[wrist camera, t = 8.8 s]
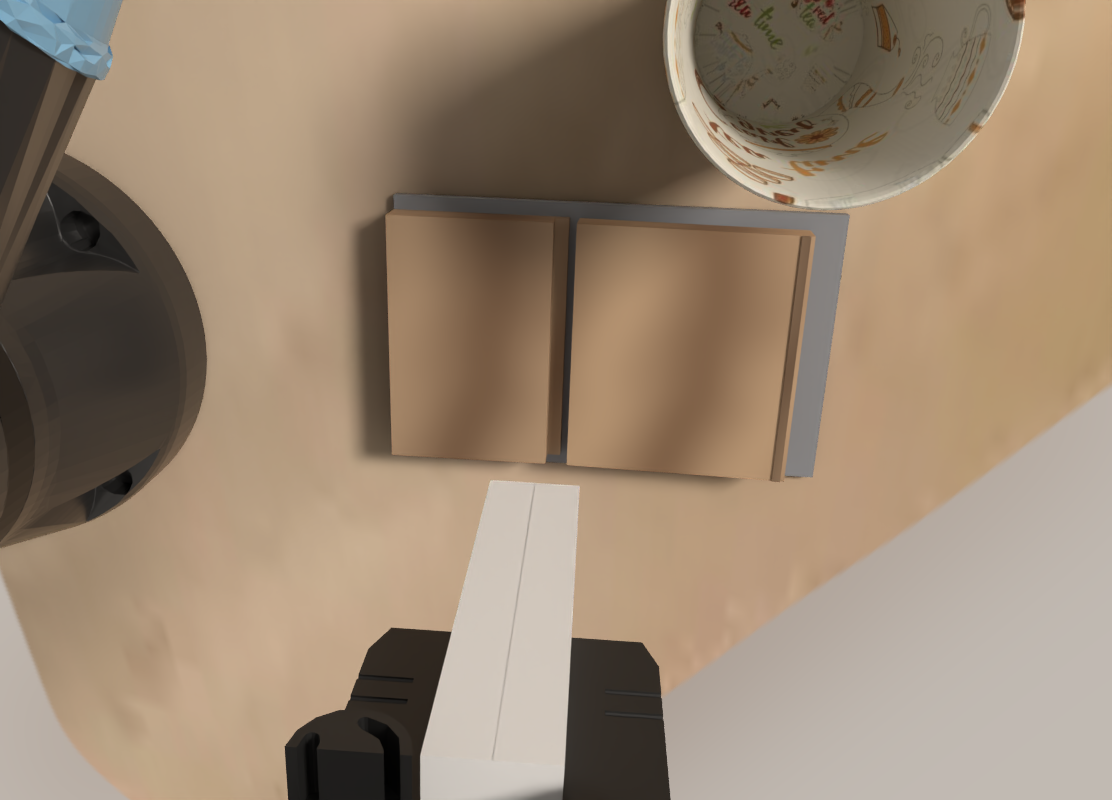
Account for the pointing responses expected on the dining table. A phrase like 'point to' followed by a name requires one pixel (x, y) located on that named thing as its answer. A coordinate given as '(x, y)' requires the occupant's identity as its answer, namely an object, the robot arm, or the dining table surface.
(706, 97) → the mug
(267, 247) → the dining table surface
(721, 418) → the plank
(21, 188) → the robot arm
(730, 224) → the underlay
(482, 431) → the laid plank
